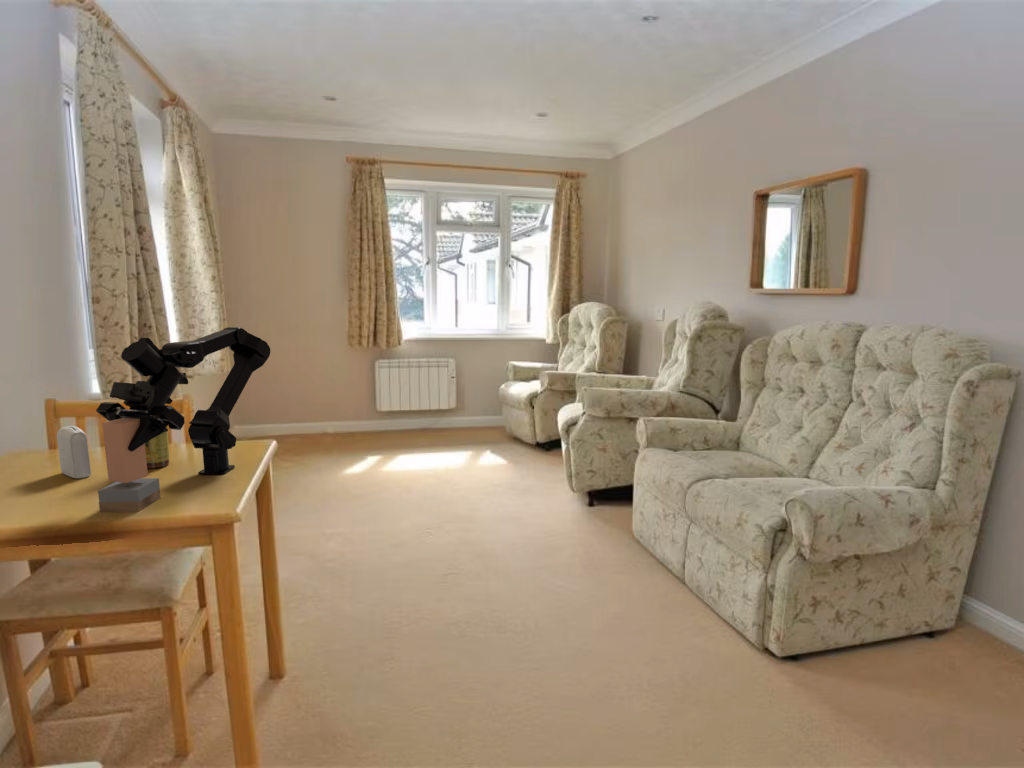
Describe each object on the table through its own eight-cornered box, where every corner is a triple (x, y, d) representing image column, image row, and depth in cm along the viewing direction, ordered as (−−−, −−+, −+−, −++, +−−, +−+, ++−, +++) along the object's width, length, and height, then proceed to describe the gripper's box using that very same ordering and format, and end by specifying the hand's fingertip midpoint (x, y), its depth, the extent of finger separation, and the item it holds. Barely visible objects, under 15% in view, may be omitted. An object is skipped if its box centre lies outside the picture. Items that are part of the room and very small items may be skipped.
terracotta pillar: (129, 474, 130) (123, 417, 128) (147, 475, 128) (142, 419, 126) (108, 480, 125) (102, 422, 123) (127, 482, 124) (121, 424, 122)
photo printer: (58, 473, 150) (52, 425, 148) (78, 469, 153) (73, 422, 152) (73, 480, 144) (67, 430, 142) (94, 476, 147) (88, 427, 146)
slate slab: (122, 489, 131) (121, 478, 130) (159, 489, 131) (158, 478, 131) (99, 502, 123) (97, 490, 122) (138, 501, 123) (137, 490, 123)
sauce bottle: (140, 465, 156) (132, 391, 153) (166, 461, 160) (159, 388, 157) (146, 471, 151) (138, 394, 148) (173, 466, 156) (166, 391, 153)
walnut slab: (124, 500, 131) (122, 489, 131) (160, 500, 131) (159, 489, 131) (100, 513, 123) (98, 502, 123) (139, 513, 123) (137, 501, 123)
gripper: (99, 365, 129) (54, 426, 120) (169, 368, 124) (128, 431, 116) (134, 395, 138) (95, 453, 129) (200, 398, 133) (165, 459, 124)
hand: (119, 449), depth 124 cm, fingers open, 5 cm apart
